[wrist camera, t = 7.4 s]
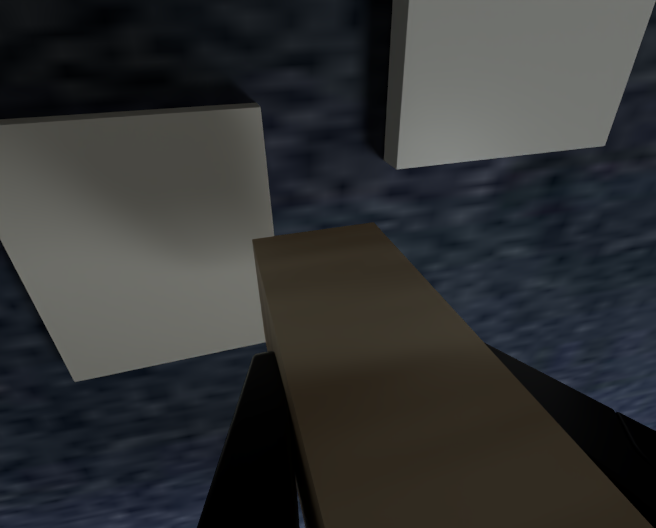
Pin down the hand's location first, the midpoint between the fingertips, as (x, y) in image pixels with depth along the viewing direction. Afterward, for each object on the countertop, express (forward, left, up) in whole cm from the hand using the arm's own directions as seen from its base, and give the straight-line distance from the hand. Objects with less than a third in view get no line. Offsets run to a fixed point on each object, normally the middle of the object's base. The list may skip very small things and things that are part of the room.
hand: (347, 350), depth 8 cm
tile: (0, +1, -6) cm, 6 cm away
